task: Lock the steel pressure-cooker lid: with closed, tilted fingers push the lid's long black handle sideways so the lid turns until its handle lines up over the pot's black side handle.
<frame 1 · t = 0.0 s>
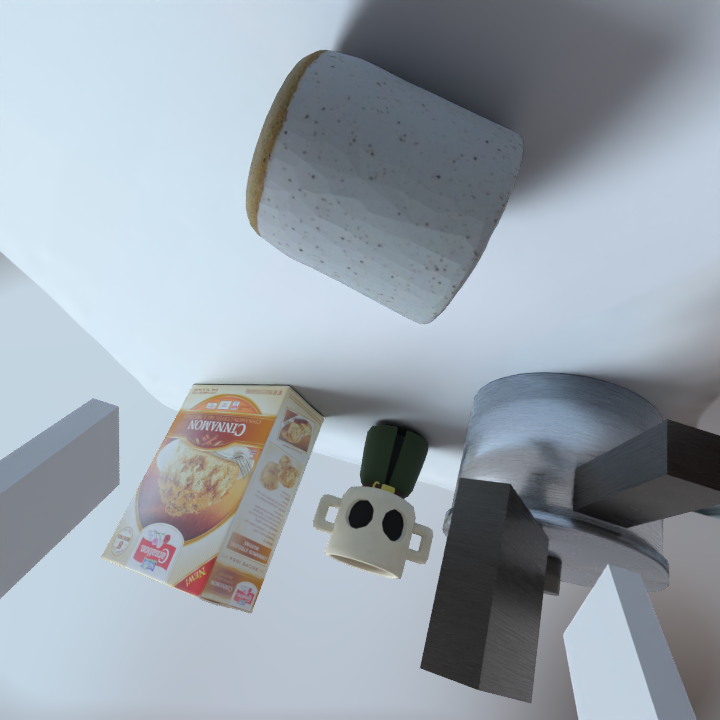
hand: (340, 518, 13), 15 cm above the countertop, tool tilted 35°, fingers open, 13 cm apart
character mug: (400, 431, 49), on the countertop
pot: (561, 418, 36), on the countertop
lid: (526, 605, 28), point 14 cm above the countertop, hinge at 35.0°
ceramic mug: (399, 155, 21), on the countertop
coffeecake box: (257, 398, 53), on the countertop
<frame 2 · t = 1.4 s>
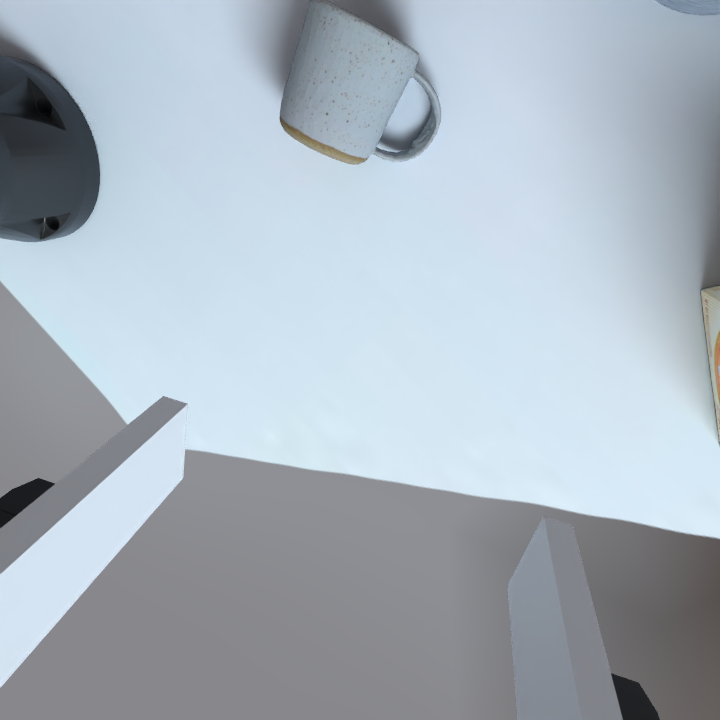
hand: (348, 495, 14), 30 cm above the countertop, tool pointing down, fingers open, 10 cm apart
ceramic mug: (373, 97, 36), on the countertop
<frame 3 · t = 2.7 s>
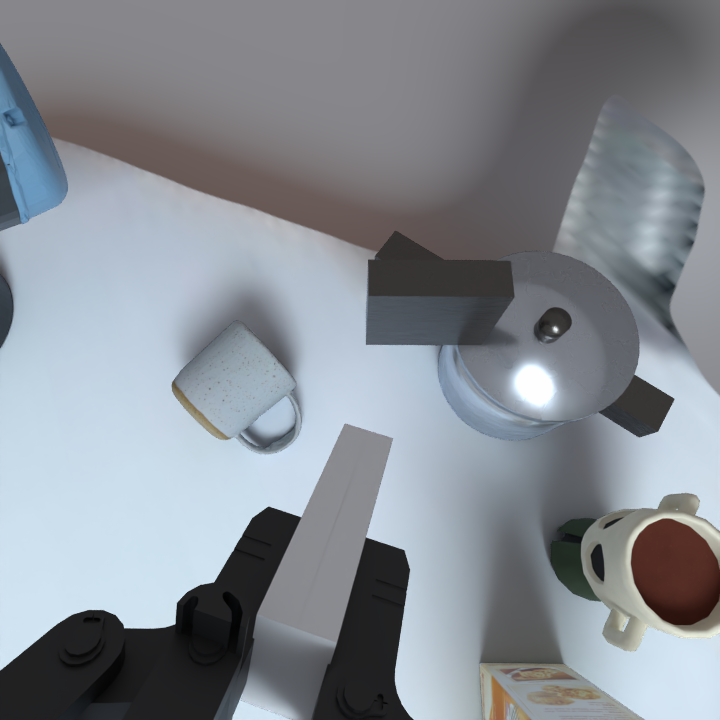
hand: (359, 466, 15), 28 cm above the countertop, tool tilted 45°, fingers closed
character mug: (583, 557, 41), on the countertop
pot: (506, 371, 46), on the countertop
lid: (516, 310, 33), point 14 cm above the countertop, hinge at 35.0°
ceramic mug: (255, 401, 45), on the countertop
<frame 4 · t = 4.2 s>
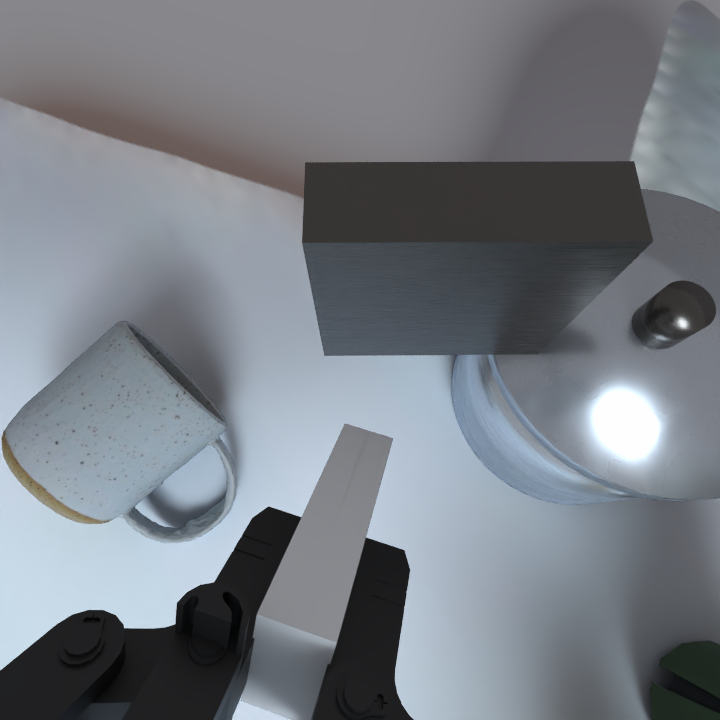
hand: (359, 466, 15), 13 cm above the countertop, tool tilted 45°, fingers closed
character mug: (704, 708, 24), on the countertop
pot: (558, 393, 29), on the countertop
lid: (618, 285, 16), point 14 cm above the countertop, hinge at 35.0°
ceramic mug: (168, 450, 28), on the countertop
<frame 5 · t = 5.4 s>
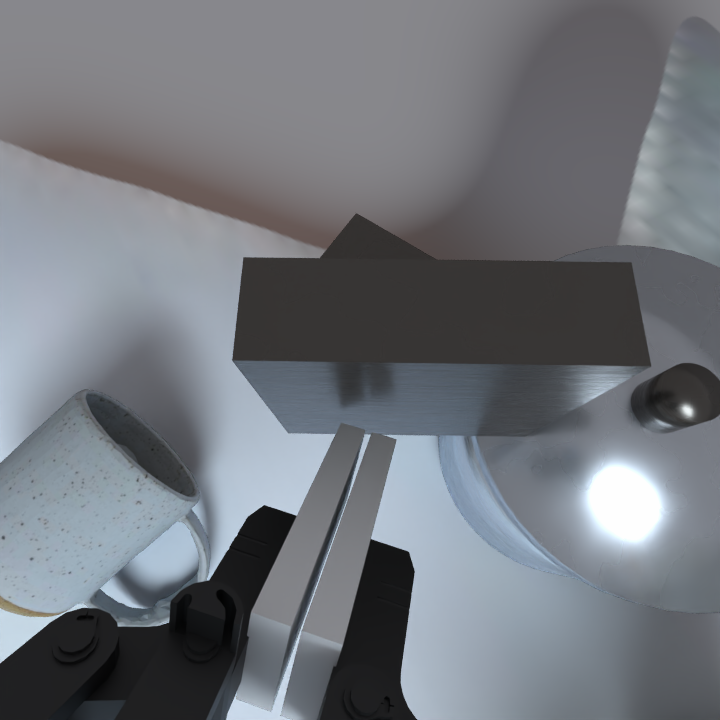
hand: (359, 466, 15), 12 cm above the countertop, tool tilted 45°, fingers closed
pot: (553, 449, 27), on the countertop
lid: (614, 376, 14), point 14 cm above the countertop, hinge at 33.5°, touching gripper
ceramic mug: (139, 518, 26), on the countertop
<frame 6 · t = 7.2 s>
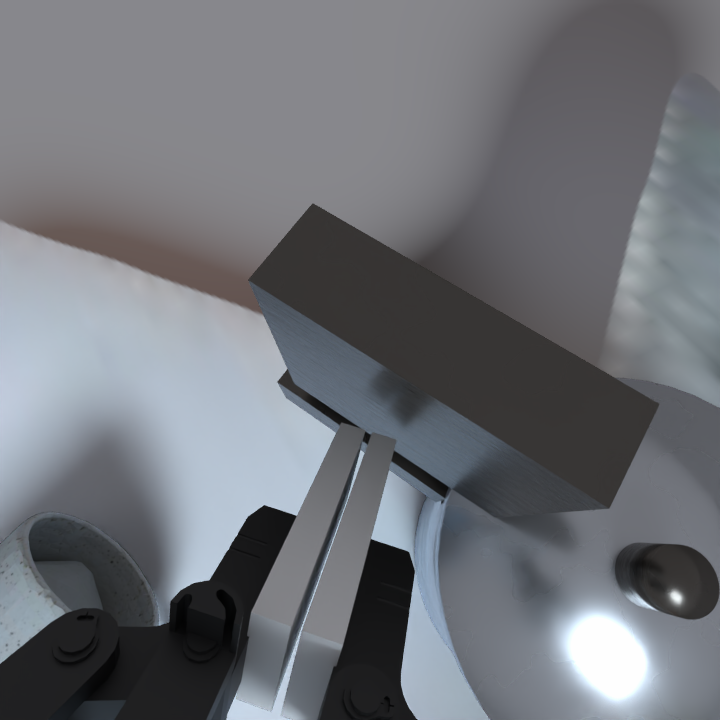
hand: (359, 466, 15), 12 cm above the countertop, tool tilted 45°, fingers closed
pot: (537, 557, 26), on the countertop
lid: (602, 512, 13), point 14 cm above the countertop, hinge at 0.8°, touching gripper
ceramic mug: (95, 639, 25), on the countertop
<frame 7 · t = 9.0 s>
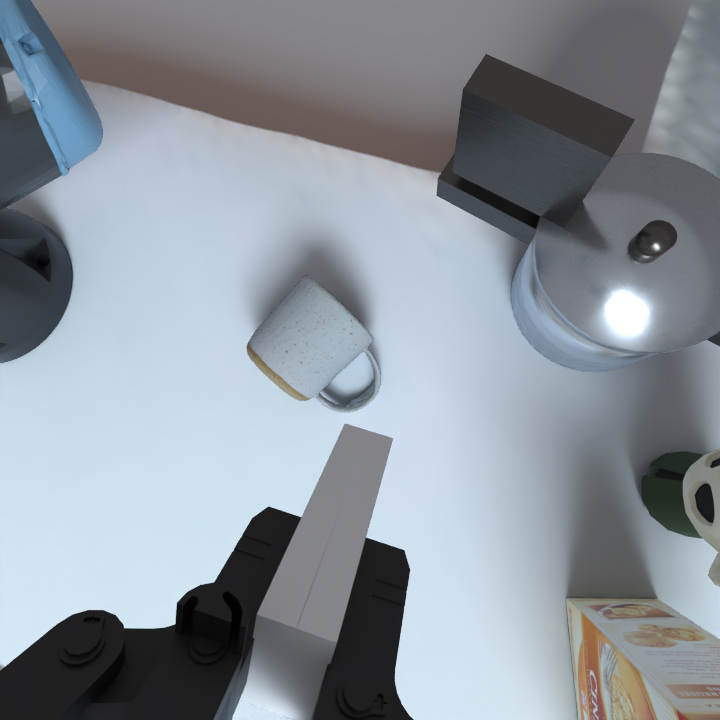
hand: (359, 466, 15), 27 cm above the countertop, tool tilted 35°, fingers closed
character mug: (679, 491, 38), on the countertop
pot: (589, 296, 41), on the countertop
lid: (617, 198, 28), point 14 cm above the countertop, hinge at 0.8°
ceramic mug: (330, 357, 43), on the countertop
coffeecake box: (622, 703, 36), on the countertop
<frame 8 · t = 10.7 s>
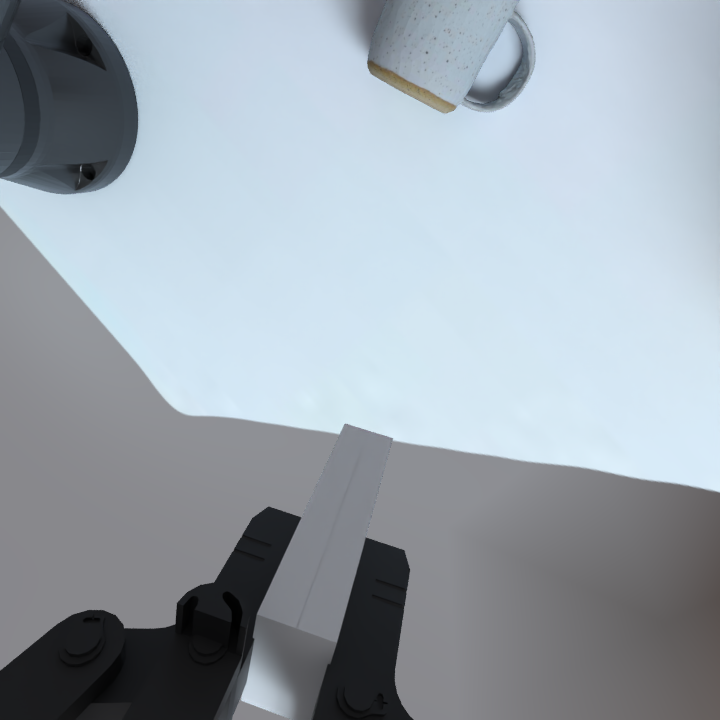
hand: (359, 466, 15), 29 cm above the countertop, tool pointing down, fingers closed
ceramic mug: (459, 45, 35), on the countertop
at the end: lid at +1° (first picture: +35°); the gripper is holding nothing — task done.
